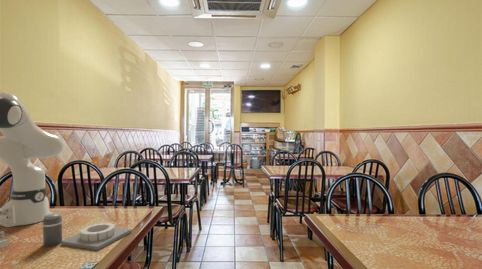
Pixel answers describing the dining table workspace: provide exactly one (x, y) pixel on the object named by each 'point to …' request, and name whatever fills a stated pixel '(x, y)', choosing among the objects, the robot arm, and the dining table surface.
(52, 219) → the lens
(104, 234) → the mount
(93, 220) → the dining table surface
